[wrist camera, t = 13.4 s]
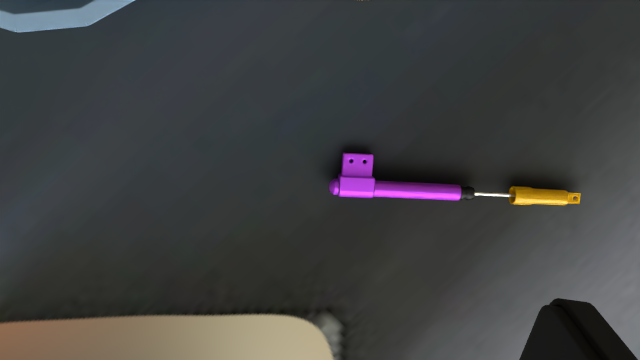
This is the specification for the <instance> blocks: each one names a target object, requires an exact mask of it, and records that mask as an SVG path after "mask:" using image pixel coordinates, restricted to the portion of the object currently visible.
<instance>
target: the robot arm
mask: <svg viewBox="0 0 640 360" xmlns="http://www.w3.org/2000/svg"><path fill="white" fill-rule="evenodd" d="M520 360H638V359H637V358H636V357H635V356H634V354H633V353H632V352H631V351H630V350H629V348H628V347H627V346H626V345H625V343H624V342H623V341H622V340H621V339H620V337H619V336H618V335H617V334H616V333H615V331H614V330H613V329H612V328H611V326H610V325H609V324H608V323H607V322H606V320H605V319H604V318H603V317H602V315H601V314H600V313H599V312H598V311H597V309H596V308H595V307H594V306H593V305H592V304H590V303H587V302H581V301H574V300H567V299H560V298H557V299H554V300H553V301H552V302H551V303H550V305H545V306H543V307H542V308H541V310H540V312H539V314H538V316H537V318H536V321H535V323H534V326H533V328H532V331H531V333H530V335H529V338H528V340H527V343H526V345H525V348H524V350H523V352H522V355H521V357H520Z"/></svg>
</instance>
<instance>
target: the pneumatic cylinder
mask: <svg viewBox="0 0 640 360" xmlns="http://www.w3.org/2000/svg"><path fill="white" fill-rule="evenodd" d="M350 159H352V161H351V162H349V160H350ZM363 160H366V161H365V162H364V163H363ZM372 168H373V155H372V154H361V153H343V156H342V170H341V174H340V173H339V174H338V179H333V180H332V181H330V183H329V191H330V192H331V193H332V194H333V195H338V196H339V197H359V198H372V197H391V198H412V199H434V200H456V201H458V200H462V199H466V200H470V199H473V198H474V195H482V196H504V197H509V202H510V203H511V204H516V205H531V204H548V205H566V204H567V203H570V204H579V203H580V196H581V194H580V193H572V192H567V191H566V190H553V189H532V188H531V187H521V186H512V187H511V188H510V190H509V193H492V192H475V190H474V188H472V187H469V186H467V187H463V186H460V185H456V184H435V183H415V182H394V181H375V178H374V177H373V176H372ZM574 196H576V199H575V200H573V197H574Z"/></svg>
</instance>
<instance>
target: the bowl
mask: <svg viewBox="0 0 640 360" xmlns="http://www.w3.org/2000/svg"><path fill="white" fill-rule="evenodd" d="M133 1H135V0H0V28H3V29H7V30H10V31H14V32H28V31H39V30H50V29H61V28H73V27H84V26H88V25H91V24H93V23H95V22H96V21H98V20H100V19H102V18H104V17H106V16H107V15H109V14H111V13H113V12H115V11H117V10H119V9H120V8H122V7H124V6H126V5H128V4H129V3H131V2H133Z"/></svg>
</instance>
